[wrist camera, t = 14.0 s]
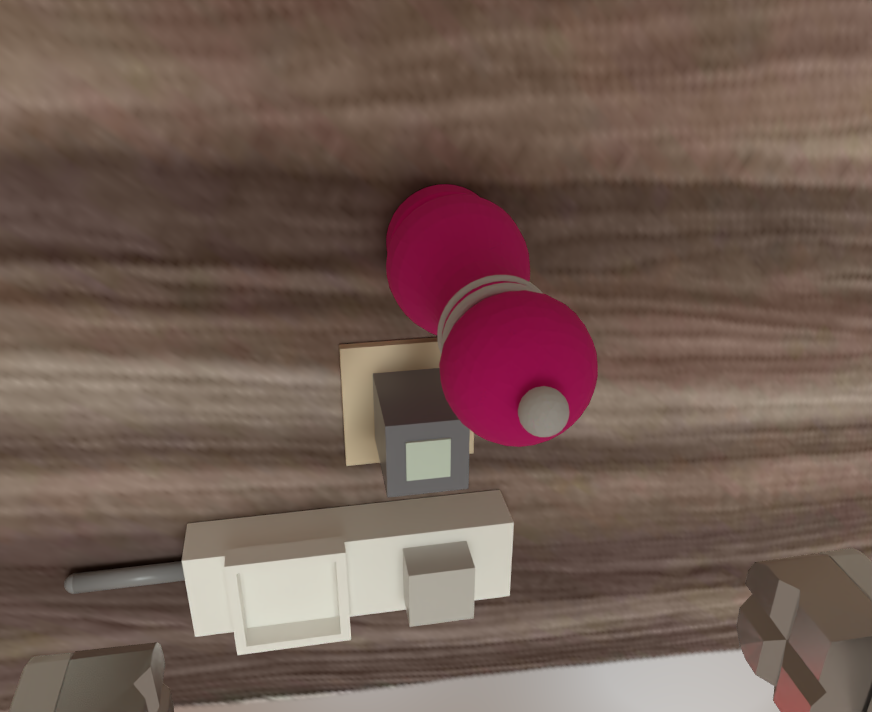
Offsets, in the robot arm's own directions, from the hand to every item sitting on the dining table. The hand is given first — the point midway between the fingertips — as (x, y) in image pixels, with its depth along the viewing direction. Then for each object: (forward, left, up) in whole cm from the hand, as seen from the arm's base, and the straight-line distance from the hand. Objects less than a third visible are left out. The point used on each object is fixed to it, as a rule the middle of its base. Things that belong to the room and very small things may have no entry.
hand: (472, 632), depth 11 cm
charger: (-4, +16, -34) cm, 37 cm away
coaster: (-4, +16, -34) cm, 38 cm away
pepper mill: (-6, +6, -34) cm, 35 cm away
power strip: (+4, +26, -34) cm, 43 cm away
